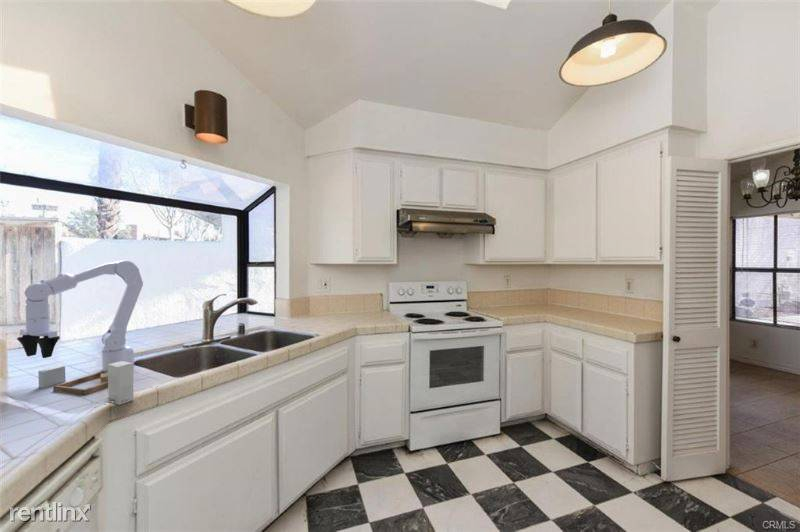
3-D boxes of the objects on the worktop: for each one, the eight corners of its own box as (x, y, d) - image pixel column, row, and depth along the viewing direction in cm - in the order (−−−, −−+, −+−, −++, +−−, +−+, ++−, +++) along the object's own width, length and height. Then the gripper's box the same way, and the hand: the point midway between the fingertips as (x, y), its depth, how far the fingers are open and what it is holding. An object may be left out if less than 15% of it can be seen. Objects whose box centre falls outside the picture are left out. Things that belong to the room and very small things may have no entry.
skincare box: (134, 400, 108) (133, 362, 108) (118, 405, 105) (117, 367, 104) (123, 396, 111) (122, 360, 110) (107, 401, 107) (106, 364, 107)
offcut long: (105, 382, 124) (105, 377, 124) (120, 384, 122) (119, 379, 122) (94, 386, 121) (93, 380, 121) (108, 388, 119) (108, 383, 119)
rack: (103, 378, 127) (103, 370, 126) (132, 382, 123) (132, 374, 123) (53, 395, 112) (53, 386, 112) (84, 399, 109) (84, 390, 108)
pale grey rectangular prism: (60, 384, 121) (59, 365, 120) (65, 385, 120) (65, 366, 120) (39, 391, 115) (38, 371, 115) (44, 392, 114) (43, 371, 114)
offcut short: (112, 377, 124) (112, 371, 124) (112, 380, 121) (112, 375, 121) (100, 379, 122) (100, 373, 122) (100, 383, 119) (100, 377, 118)
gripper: (8, 319, 117) (9, 358, 117) (38, 321, 113) (39, 361, 114) (34, 315, 123) (35, 352, 124) (63, 317, 120) (64, 355, 121)
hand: (39, 356), depth 119 cm, fingers open, 7 cm apart
